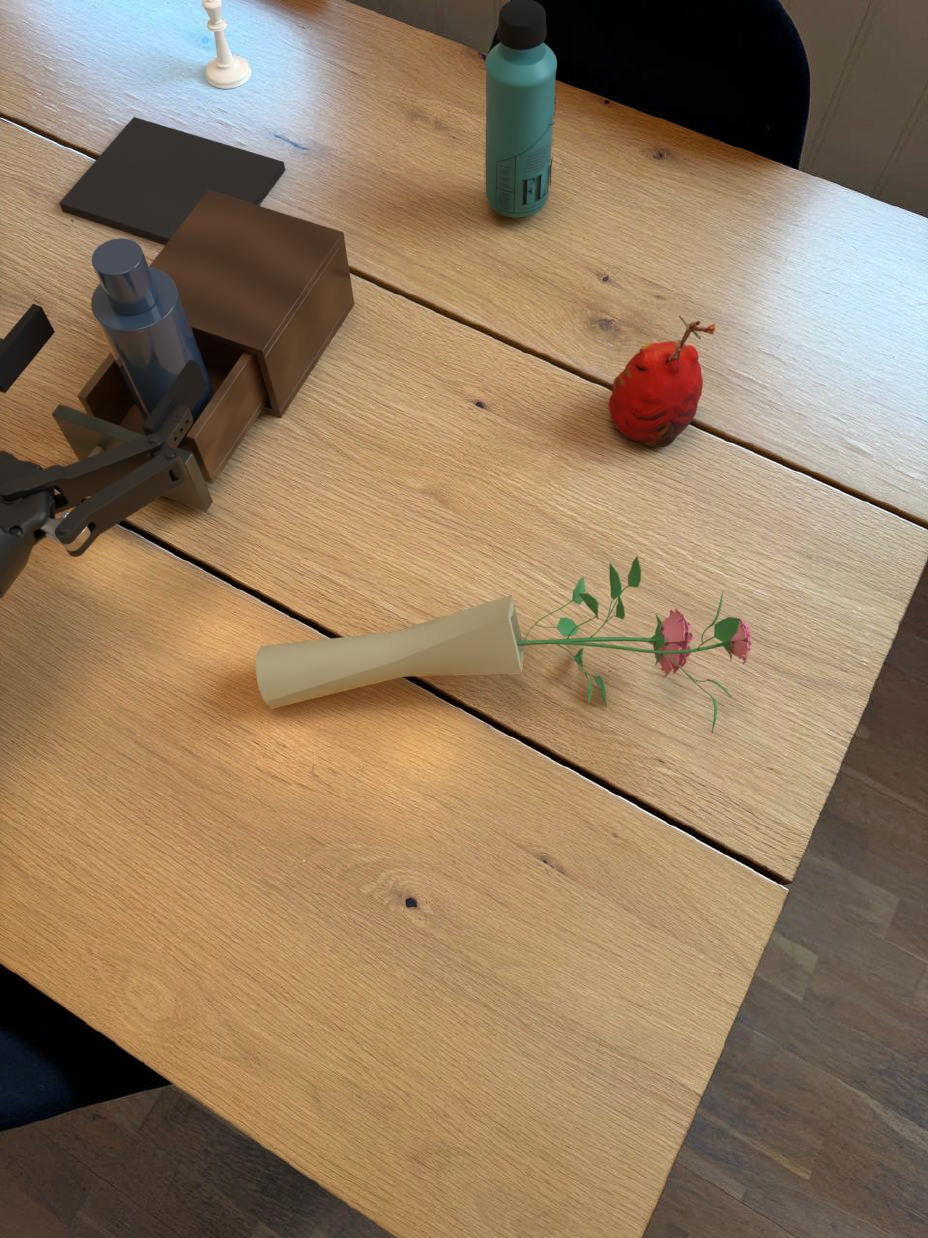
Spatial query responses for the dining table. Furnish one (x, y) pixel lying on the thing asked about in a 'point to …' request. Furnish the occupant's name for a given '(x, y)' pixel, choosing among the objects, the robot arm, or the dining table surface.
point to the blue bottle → (144, 325)
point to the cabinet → (261, 286)
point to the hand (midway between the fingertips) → (120, 344)
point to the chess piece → (223, 53)
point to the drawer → (209, 437)
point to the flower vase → (469, 648)
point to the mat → (165, 179)
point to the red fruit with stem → (659, 390)
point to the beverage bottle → (519, 111)
